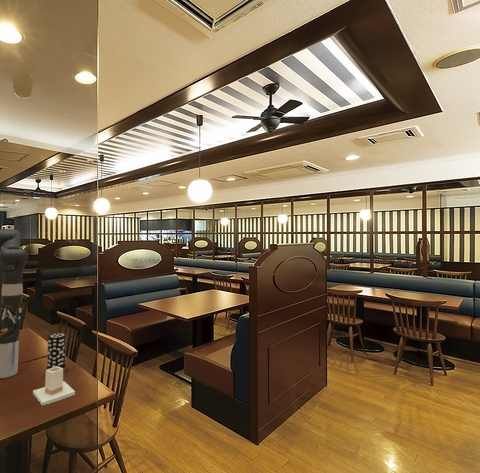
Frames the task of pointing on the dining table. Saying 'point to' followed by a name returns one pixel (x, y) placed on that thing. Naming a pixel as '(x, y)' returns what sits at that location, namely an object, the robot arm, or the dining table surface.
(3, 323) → the robot arm
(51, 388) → the sleeve
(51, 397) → the pin board
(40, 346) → the dining table surface
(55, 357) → the spotted tube
